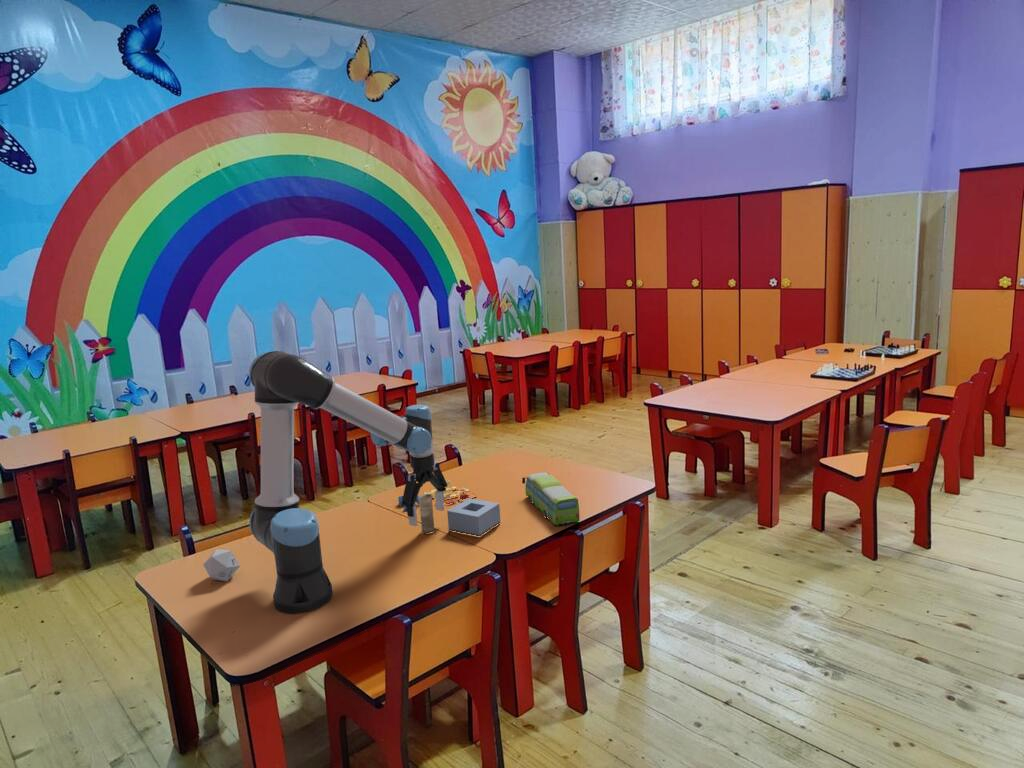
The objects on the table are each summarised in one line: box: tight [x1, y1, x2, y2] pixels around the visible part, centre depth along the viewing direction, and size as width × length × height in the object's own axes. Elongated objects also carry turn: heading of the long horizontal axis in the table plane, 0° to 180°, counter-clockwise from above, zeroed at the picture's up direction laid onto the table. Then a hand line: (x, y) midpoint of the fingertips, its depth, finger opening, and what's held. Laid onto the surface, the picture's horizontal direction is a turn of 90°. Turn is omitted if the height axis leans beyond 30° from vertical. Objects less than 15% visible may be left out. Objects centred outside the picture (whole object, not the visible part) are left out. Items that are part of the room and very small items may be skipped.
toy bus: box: [521, 472, 580, 526], centre depth 235 cm, size 10×31×10 cm, turn 17°
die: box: [202, 548, 241, 582], centre depth 199 cm, size 8×9×10 cm
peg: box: [418, 493, 435, 534], centre depth 222 cm, size 4×4×12 cm
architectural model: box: [397, 479, 475, 512], centre depth 254 cm, size 45×14×5 cm, turn 123°
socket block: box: [446, 498, 501, 536], centre depth 224 cm, size 12×12×7 cm
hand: (427, 517), depth 223 cm, fingers open, 13 cm apart
